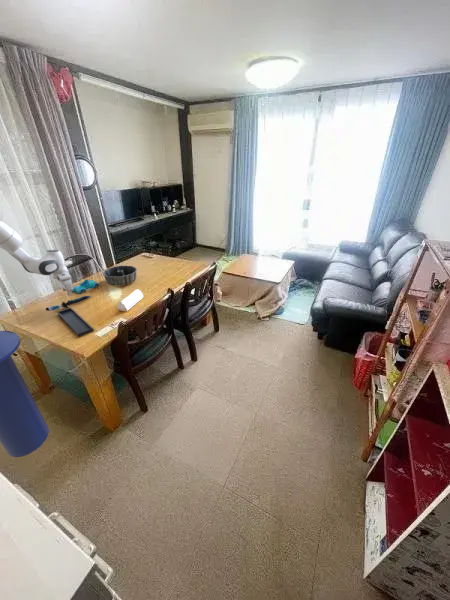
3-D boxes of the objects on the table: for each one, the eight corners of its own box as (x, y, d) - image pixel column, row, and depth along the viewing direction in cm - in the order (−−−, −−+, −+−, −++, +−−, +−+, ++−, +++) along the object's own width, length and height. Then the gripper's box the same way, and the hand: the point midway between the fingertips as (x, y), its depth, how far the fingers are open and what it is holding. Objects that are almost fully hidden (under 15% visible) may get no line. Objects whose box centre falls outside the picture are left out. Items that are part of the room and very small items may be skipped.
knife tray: (78, 337, 145) (77, 334, 144) (58, 314, 166) (57, 312, 165) (93, 331, 151) (92, 328, 150) (71, 310, 172) (70, 307, 171)
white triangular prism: (127, 308, 166) (146, 292, 186) (117, 302, 166) (138, 287, 186) (124, 316, 170) (143, 299, 190) (114, 310, 169) (135, 294, 190)
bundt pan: (122, 273, 228) (120, 263, 223) (145, 278, 218) (143, 267, 213) (98, 284, 207) (95, 273, 202) (122, 291, 197) (119, 279, 192)
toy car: (100, 285, 206) (98, 278, 202) (79, 294, 192) (77, 286, 188) (91, 283, 210) (89, 275, 207) (70, 291, 196) (68, 283, 193)
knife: (47, 314, 164) (46, 308, 162) (45, 313, 166) (43, 306, 164) (93, 300, 188) (92, 294, 186) (90, 299, 189) (90, 293, 187)
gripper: (50, 271, 170) (57, 289, 176) (60, 279, 157) (67, 299, 164) (60, 268, 174) (66, 286, 180) (71, 276, 161) (77, 296, 168)
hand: (67, 292), depth 172 cm, fingers open, 8 cm apart
